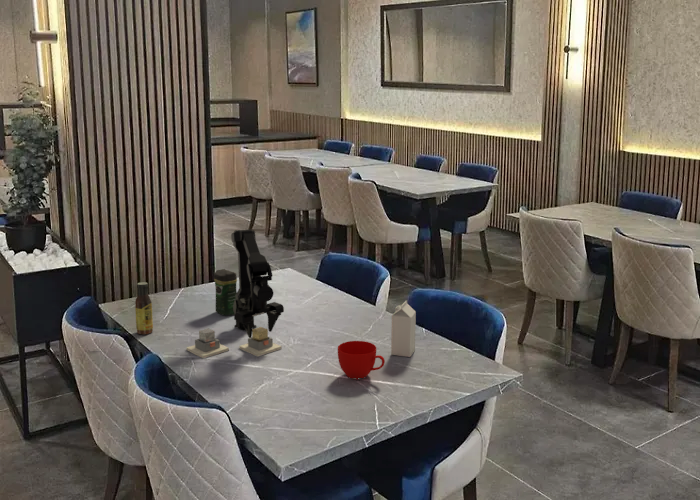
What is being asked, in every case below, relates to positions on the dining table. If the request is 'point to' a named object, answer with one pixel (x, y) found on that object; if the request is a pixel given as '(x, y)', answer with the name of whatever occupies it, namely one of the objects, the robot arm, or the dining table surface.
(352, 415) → the dining table surface
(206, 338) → the column
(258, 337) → the column
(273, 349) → the stand
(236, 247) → the robot arm
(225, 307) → the coffee jar
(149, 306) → the sauce bottle
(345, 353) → the ceramic cup
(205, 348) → the stand
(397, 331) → the milk carton
